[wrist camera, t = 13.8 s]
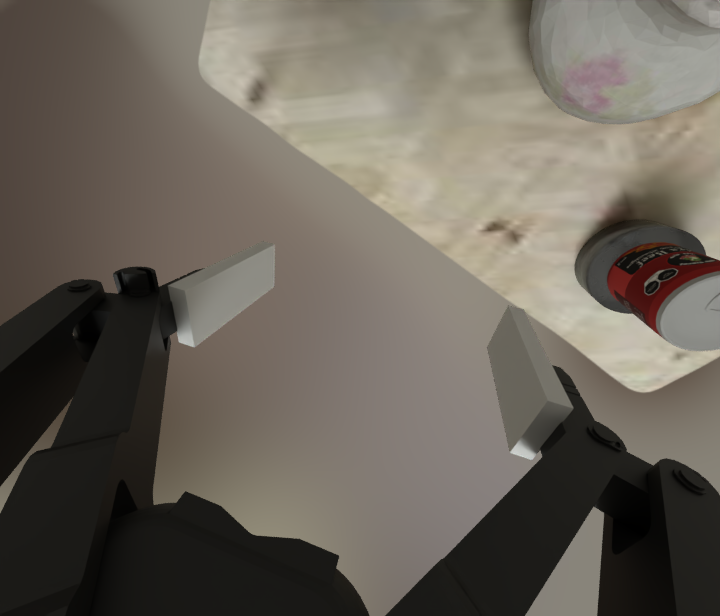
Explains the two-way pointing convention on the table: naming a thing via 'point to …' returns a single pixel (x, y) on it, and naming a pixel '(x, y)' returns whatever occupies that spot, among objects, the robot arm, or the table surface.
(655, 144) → the table surface
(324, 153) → the table surface
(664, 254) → the canned food
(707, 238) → the table surface
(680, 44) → the ceramic pitcher
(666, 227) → the pedestal
